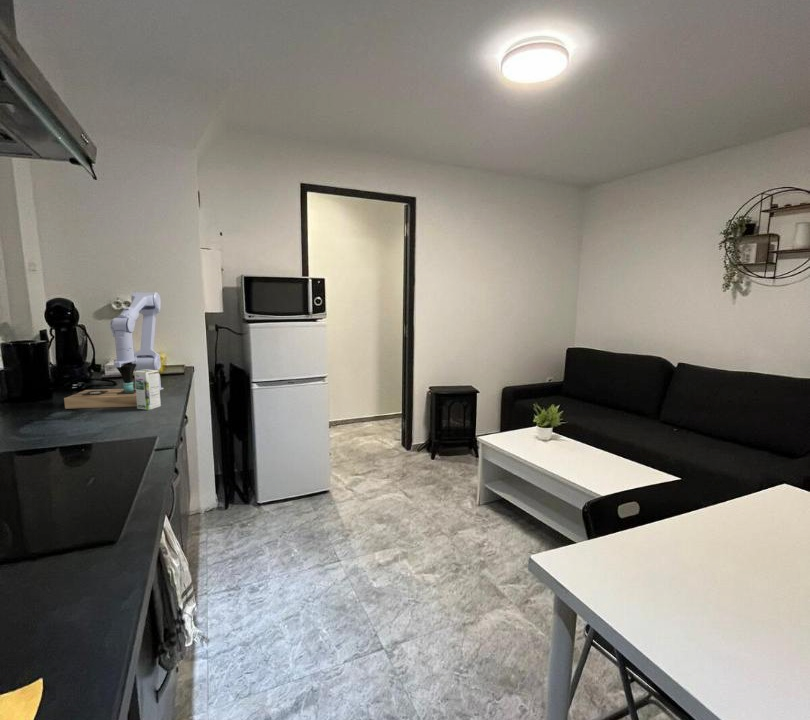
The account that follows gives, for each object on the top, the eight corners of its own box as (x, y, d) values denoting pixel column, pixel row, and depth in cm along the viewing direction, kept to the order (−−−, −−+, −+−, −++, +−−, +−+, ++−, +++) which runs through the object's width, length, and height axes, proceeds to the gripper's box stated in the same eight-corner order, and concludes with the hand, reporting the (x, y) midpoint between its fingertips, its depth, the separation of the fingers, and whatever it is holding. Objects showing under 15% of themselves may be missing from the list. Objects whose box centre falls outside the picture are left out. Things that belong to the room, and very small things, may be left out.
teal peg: (126, 392, 165) (125, 382, 164) (135, 392, 166) (134, 381, 165) (122, 394, 162) (121, 383, 161) (131, 393, 162) (130, 383, 162)
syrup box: (136, 409, 154) (132, 371, 152) (150, 405, 160) (147, 368, 158) (148, 410, 153) (144, 372, 151) (161, 406, 158) (158, 369, 156)
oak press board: (86, 399, 168) (85, 389, 167) (156, 397, 172) (155, 387, 172) (65, 408, 154) (63, 397, 153) (141, 406, 159) (140, 394, 158)
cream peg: (93, 402, 163) (92, 391, 163) (103, 401, 164) (102, 391, 163) (89, 404, 160) (87, 393, 159) (98, 403, 161) (97, 393, 160)
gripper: (122, 346, 167) (125, 379, 169) (103, 350, 153) (107, 386, 155) (141, 346, 168) (144, 378, 170) (124, 350, 154) (127, 386, 156)
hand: (128, 382), depth 163 cm, fingers closed
